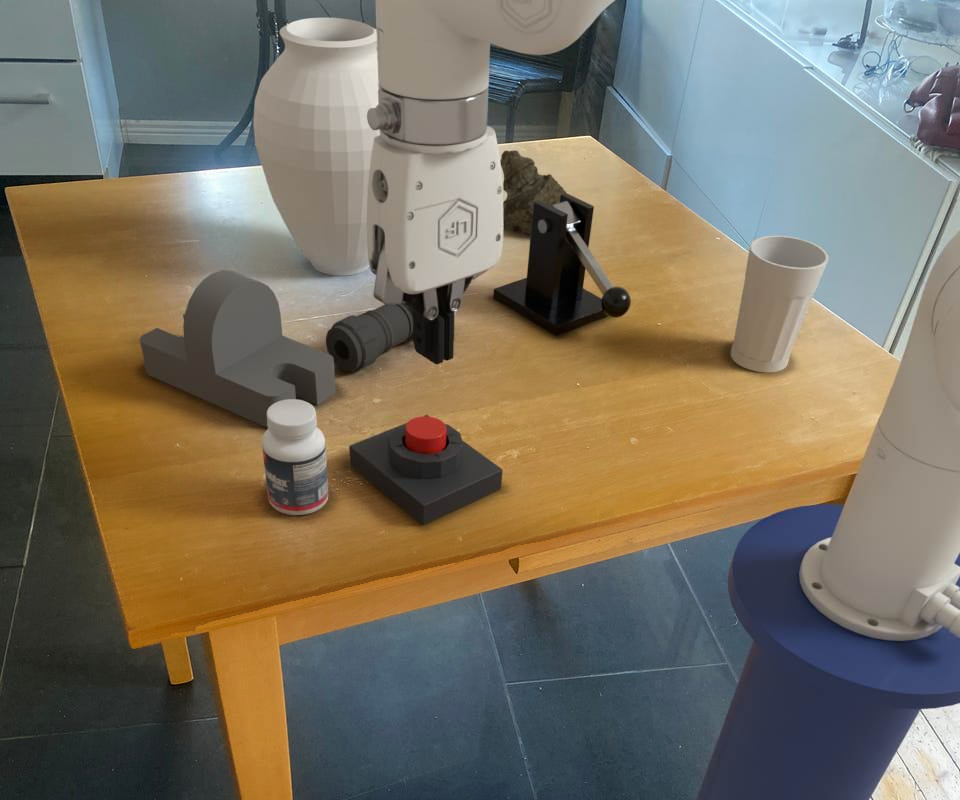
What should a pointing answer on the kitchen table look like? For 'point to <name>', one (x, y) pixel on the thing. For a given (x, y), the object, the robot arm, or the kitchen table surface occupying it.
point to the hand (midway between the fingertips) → (433, 354)
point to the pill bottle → (295, 458)
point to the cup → (775, 300)
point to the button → (425, 435)
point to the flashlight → (369, 335)
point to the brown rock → (525, 190)
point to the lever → (594, 267)
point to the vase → (321, 138)
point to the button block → (425, 473)
